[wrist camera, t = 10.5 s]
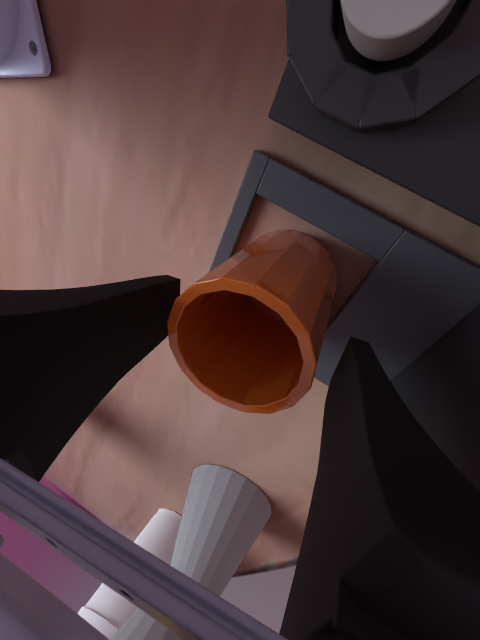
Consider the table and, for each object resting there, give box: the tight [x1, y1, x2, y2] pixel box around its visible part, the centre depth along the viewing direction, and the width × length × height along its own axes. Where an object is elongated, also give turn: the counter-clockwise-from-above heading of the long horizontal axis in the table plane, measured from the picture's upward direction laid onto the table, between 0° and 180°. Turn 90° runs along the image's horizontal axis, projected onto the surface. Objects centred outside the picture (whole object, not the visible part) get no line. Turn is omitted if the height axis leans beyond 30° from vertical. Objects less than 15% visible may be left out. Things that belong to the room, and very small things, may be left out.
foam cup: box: [78, 508, 182, 640], centre depth 31 cm, size 10×9×13 cm
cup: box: [167, 230, 337, 414], centre depth 12 cm, size 5×5×7 cm
